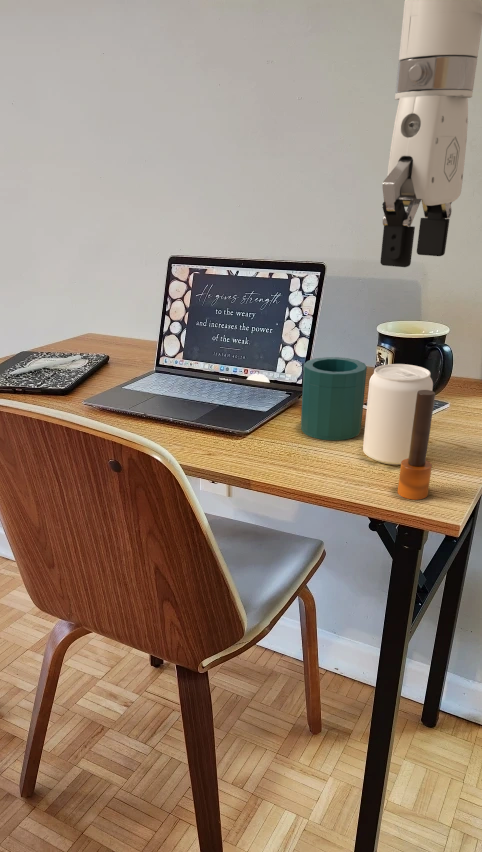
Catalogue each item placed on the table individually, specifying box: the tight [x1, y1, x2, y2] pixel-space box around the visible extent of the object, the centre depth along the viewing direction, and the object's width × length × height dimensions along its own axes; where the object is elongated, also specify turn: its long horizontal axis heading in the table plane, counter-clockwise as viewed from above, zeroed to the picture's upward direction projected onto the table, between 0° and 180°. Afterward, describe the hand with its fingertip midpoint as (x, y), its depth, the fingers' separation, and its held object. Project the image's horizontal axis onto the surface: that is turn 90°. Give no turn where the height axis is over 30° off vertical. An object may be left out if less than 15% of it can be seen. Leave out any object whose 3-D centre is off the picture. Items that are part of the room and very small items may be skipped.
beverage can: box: [362, 363, 434, 466], centre depth 93 cm, size 8×8×12 cm
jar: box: [300, 356, 368, 441], centre depth 102 cm, size 9×9×10 cm
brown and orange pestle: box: [397, 390, 436, 501], centre depth 82 cm, size 4×4×13 cm
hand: (413, 260), depth 77 cm, fingers open, 9 cm apart
